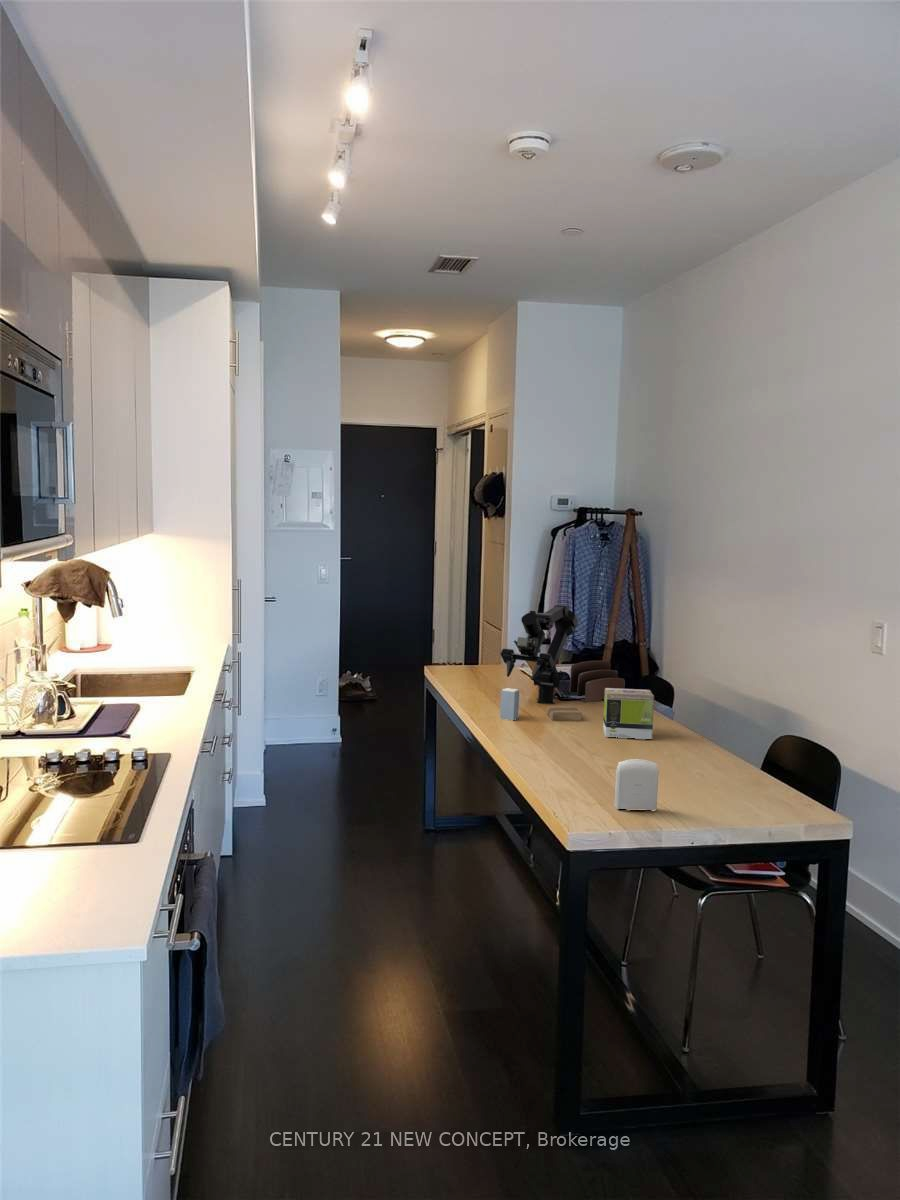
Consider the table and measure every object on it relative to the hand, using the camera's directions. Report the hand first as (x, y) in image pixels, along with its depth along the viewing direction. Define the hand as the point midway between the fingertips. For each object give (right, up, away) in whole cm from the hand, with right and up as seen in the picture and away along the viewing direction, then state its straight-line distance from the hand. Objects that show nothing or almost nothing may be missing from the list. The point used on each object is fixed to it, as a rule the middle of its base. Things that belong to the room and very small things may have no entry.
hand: (519, 677), depth 309 cm
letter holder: (+33, -11, +35) cm, 49 cm away
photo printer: (+21, -24, -92) cm, 97 cm away
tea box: (+33, -17, -21) cm, 43 cm away
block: (+15, -14, 0) cm, 21 cm away
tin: (-4, -14, -5) cm, 15 cm away
